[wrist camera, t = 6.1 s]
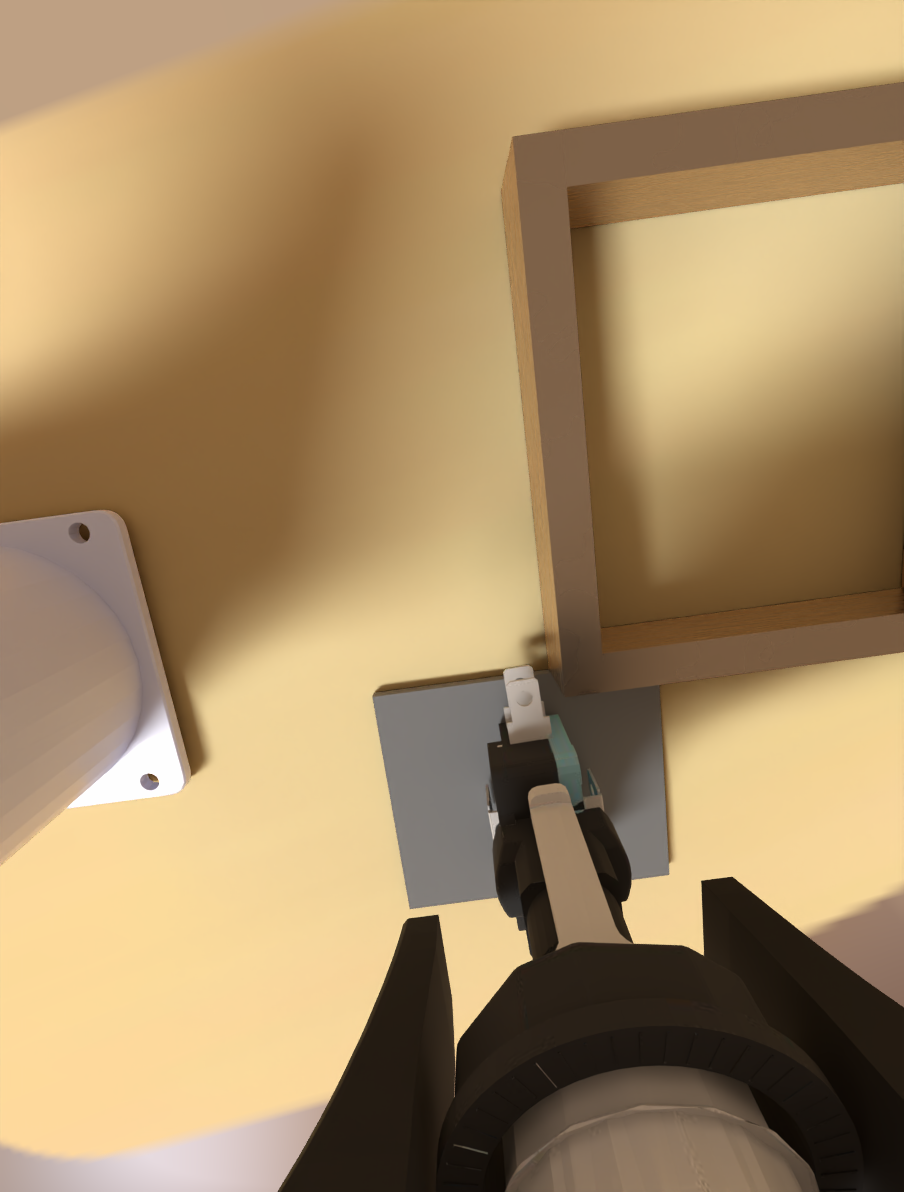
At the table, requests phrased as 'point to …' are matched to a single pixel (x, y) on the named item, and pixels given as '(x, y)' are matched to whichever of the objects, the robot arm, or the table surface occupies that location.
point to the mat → (461, 770)
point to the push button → (617, 1023)
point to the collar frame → (553, 373)
